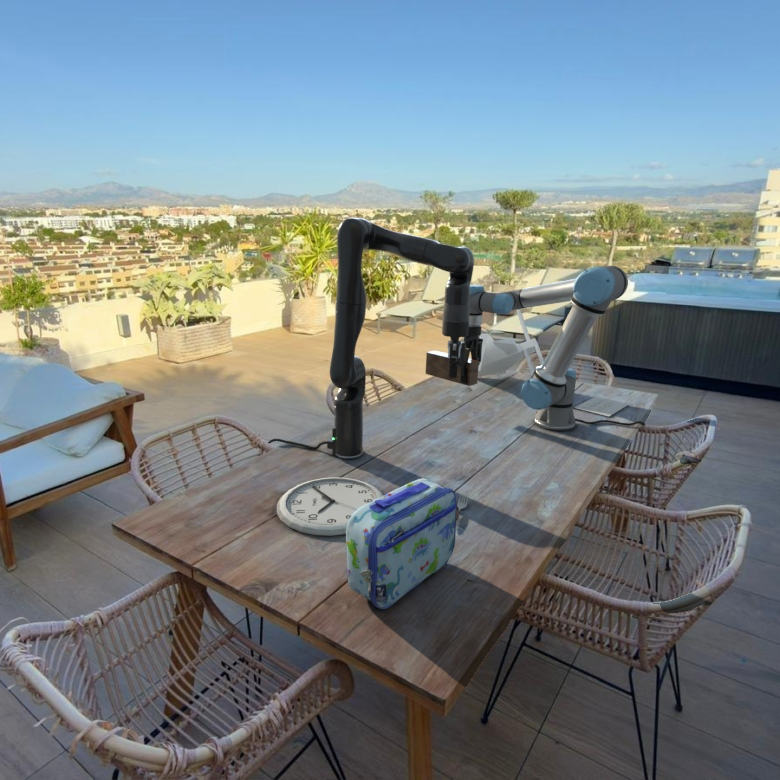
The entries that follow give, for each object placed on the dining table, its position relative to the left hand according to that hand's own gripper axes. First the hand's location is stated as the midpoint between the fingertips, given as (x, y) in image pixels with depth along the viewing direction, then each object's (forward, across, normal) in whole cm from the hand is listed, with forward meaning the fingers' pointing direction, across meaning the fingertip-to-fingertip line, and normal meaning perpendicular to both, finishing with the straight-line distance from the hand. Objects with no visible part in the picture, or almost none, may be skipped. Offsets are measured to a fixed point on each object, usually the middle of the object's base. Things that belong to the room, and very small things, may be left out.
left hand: (452, 373), depth 154 cm
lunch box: (+32, +55, -9) cm, 64 cm away
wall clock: (+32, +26, -31) cm, 51 cm away
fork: (+32, +26, +3) cm, 41 cm away
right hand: (+18, -57, +7) cm, 60 cm away
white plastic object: (+32, -101, +26) cm, 109 cm away
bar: (+19, -62, 0) cm, 65 cm away
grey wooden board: (+32, -73, +65) cm, 103 cm away
